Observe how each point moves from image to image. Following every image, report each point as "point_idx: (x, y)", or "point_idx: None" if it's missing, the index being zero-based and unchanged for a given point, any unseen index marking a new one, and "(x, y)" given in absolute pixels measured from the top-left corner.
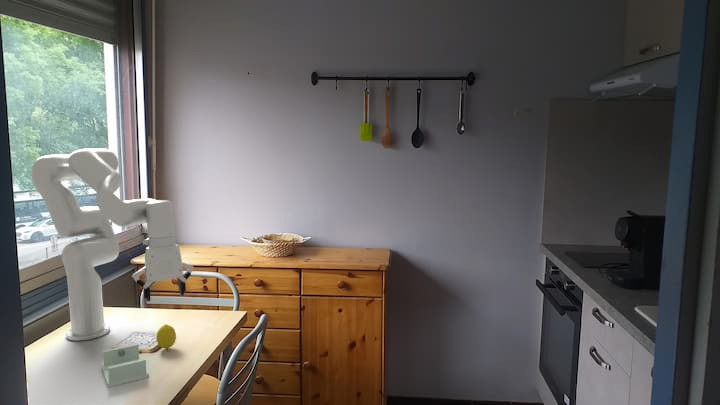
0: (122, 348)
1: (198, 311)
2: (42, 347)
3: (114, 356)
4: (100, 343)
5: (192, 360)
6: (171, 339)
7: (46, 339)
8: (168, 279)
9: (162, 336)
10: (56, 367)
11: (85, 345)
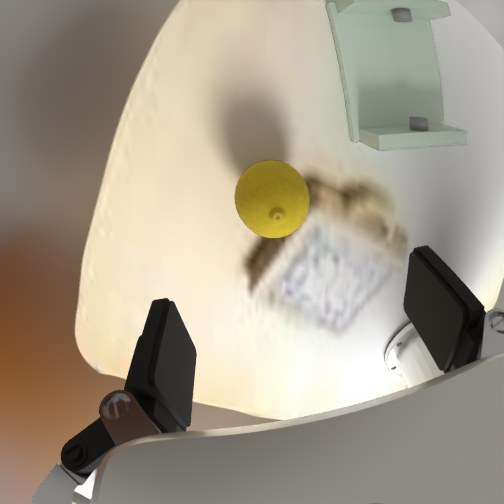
0: (423, 132)
1: None
2: (488, 298)
3: (431, 127)
4: None
5: (184, 63)
6: (253, 166)
7: None
8: (304, 418)
9: (289, 171)
10: (498, 192)
11: None
